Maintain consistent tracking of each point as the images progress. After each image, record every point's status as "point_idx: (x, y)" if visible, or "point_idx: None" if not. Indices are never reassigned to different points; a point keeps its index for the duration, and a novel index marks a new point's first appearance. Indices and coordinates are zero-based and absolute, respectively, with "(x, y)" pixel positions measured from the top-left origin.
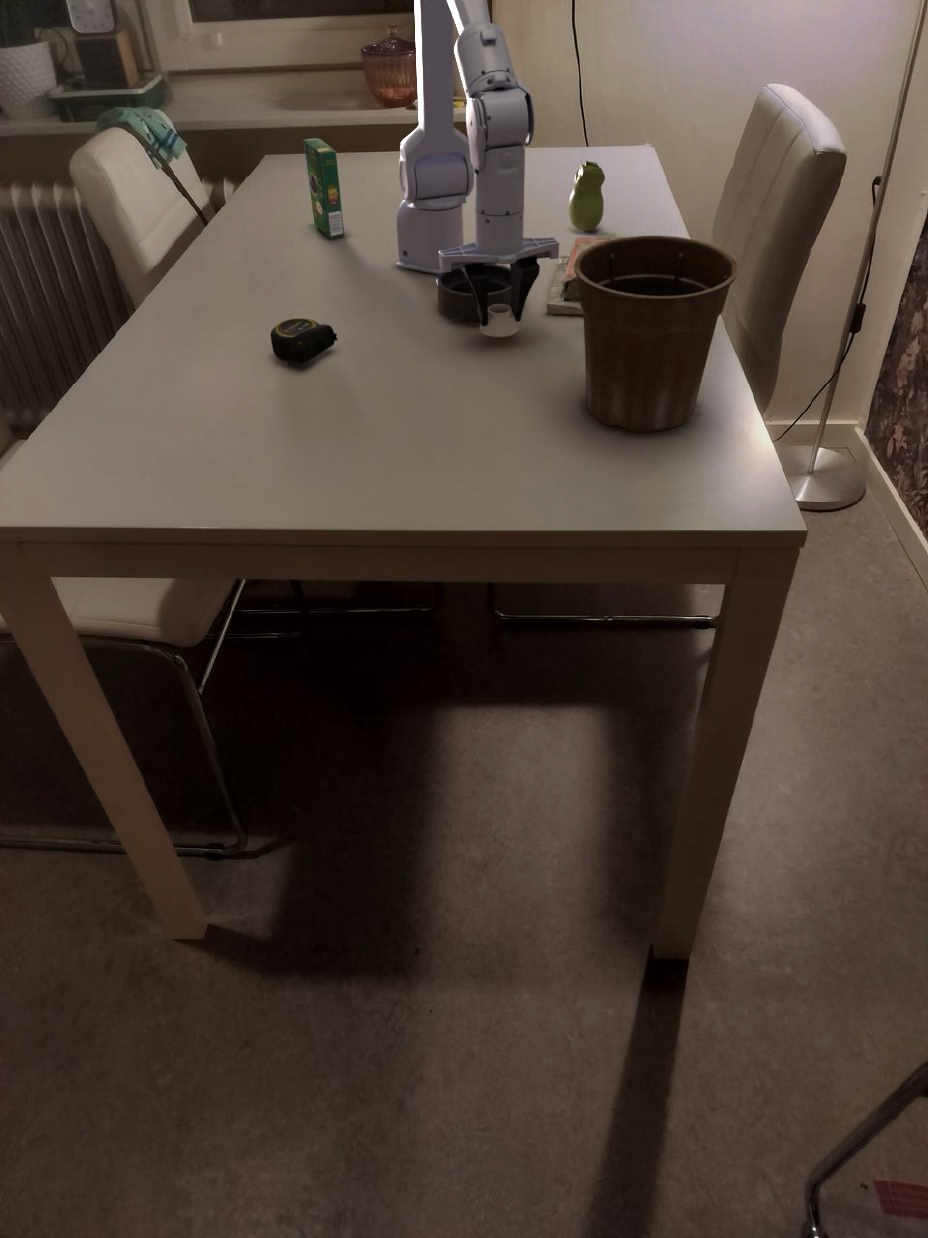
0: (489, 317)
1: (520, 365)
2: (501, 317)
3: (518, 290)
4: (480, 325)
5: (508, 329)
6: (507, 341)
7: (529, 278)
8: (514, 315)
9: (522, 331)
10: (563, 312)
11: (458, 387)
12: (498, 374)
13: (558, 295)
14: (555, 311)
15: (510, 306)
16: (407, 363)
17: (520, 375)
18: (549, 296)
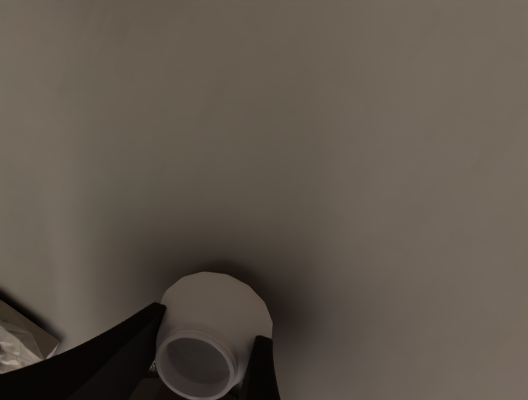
0: (240, 354)
1: (248, 147)
2: (210, 327)
3: (100, 379)
4: None
5: (207, 285)
6: None
7: (11, 392)
8: (160, 324)
9: None
10: (25, 319)
11: (498, 122)
12: (335, 132)
13: None
14: (40, 332)
15: (133, 397)
16: (523, 335)
17: (281, 89)
18: None
